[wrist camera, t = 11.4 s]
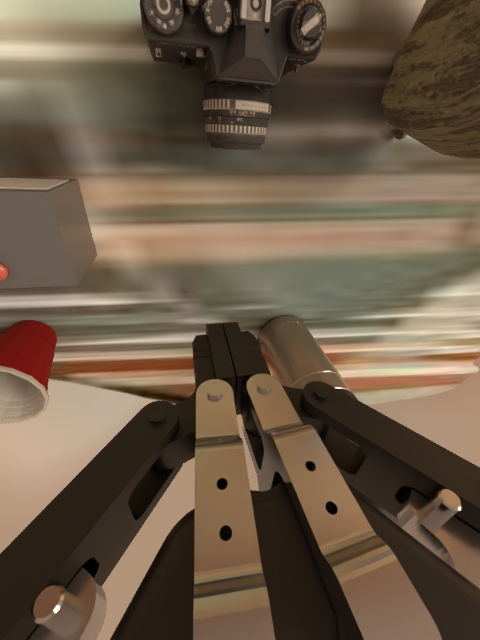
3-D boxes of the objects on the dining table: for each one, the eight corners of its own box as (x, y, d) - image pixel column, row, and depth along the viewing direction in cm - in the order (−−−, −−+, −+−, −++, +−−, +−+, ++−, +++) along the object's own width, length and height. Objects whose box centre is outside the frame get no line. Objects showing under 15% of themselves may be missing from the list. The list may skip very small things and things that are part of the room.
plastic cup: (-6, 359, 41) (-61, 428, 31) (-16, 299, 35) (-86, 360, 26) (75, 366, 44) (48, 430, 35) (76, 313, 39) (46, 370, 30)
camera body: (96, 254, 35) (76, 288, 28) (-18, 257, 33) (-76, 294, 25) (76, 178, 30) (44, 192, 22) (-61, 174, 28) (-151, 188, 20)
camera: (160, 146, 30) (156, 149, 22) (143, 3, 24) (129, -64, 16) (279, 149, 33) (313, 153, 25) (291, 21, 27) (342, -28, 19)
